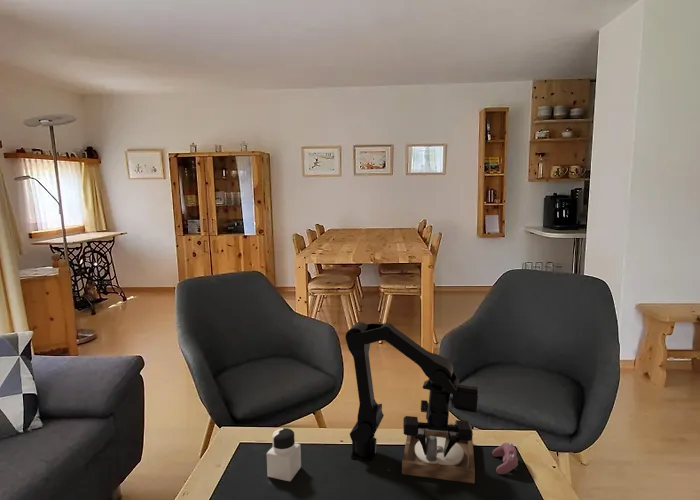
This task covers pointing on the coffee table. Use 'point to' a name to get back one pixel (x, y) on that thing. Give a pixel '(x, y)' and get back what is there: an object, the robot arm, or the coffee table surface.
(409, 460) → the dial frame
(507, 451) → the video game controller
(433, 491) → the coffee table surface
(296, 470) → the medicine bottle
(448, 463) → the dial
